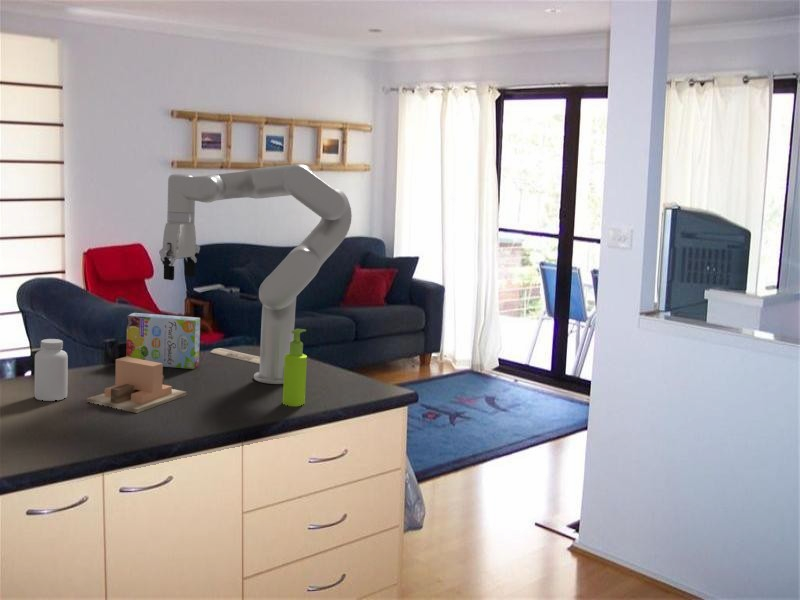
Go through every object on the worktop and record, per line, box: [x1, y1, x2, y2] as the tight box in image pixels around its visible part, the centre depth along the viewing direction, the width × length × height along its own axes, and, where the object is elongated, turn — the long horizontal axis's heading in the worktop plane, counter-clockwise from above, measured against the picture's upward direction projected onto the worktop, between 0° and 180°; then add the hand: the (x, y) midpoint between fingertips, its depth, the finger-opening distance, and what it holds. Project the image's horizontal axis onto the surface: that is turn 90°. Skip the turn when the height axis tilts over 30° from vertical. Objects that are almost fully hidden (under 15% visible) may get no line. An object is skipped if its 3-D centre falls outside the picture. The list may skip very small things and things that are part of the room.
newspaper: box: [209, 347, 260, 365], centre depth 293 cm, size 24×7×2 cm, turn 58°
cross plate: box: [104, 356, 173, 404], centre depth 240 cm, size 12×12×9 cm
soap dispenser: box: [282, 328, 308, 407], centre depth 245 cm, size 6×7×20 cm
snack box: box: [125, 312, 201, 370], centre depth 277 cm, size 21×6×15 cm, turn 84°
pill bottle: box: [34, 338, 69, 402], centre depth 236 cm, size 8×8×15 cm
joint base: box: [86, 375, 188, 414], centre depth 241 cm, size 16×20×4 cm
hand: (179, 277), depth 264 cm, fingers open, 9 cm apart
